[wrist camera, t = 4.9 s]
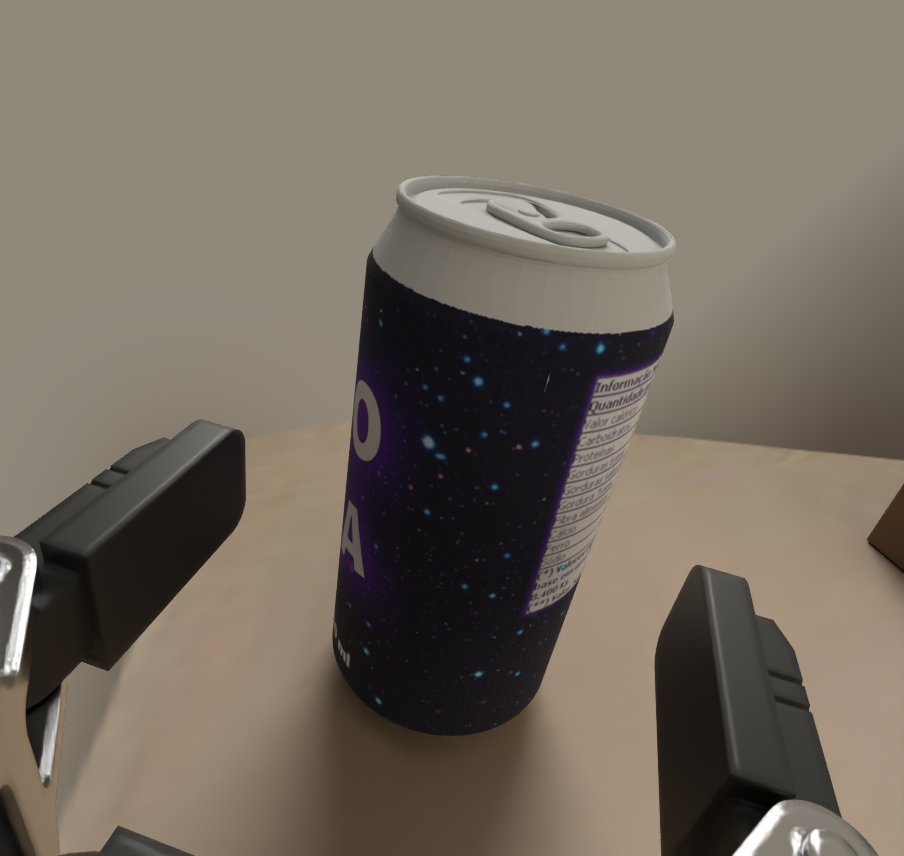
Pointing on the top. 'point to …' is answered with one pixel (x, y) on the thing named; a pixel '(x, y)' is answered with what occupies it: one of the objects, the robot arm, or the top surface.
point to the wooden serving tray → (891, 531)
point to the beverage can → (487, 437)
